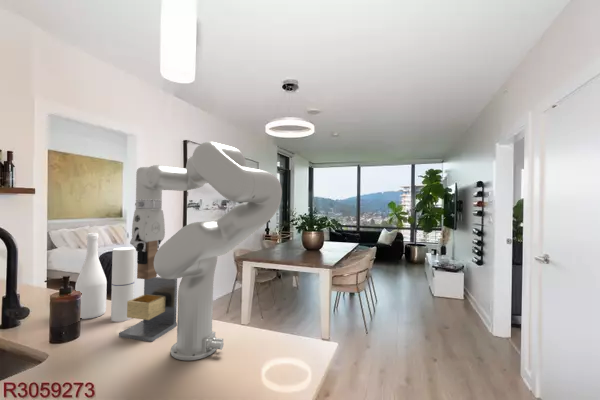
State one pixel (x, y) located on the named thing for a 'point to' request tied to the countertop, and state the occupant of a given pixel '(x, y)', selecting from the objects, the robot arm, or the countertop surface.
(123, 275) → the cylindrical container
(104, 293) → the wine bottle
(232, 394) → the countertop surface
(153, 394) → the countertop surface
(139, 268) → the rail post
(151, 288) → the cup bracket
